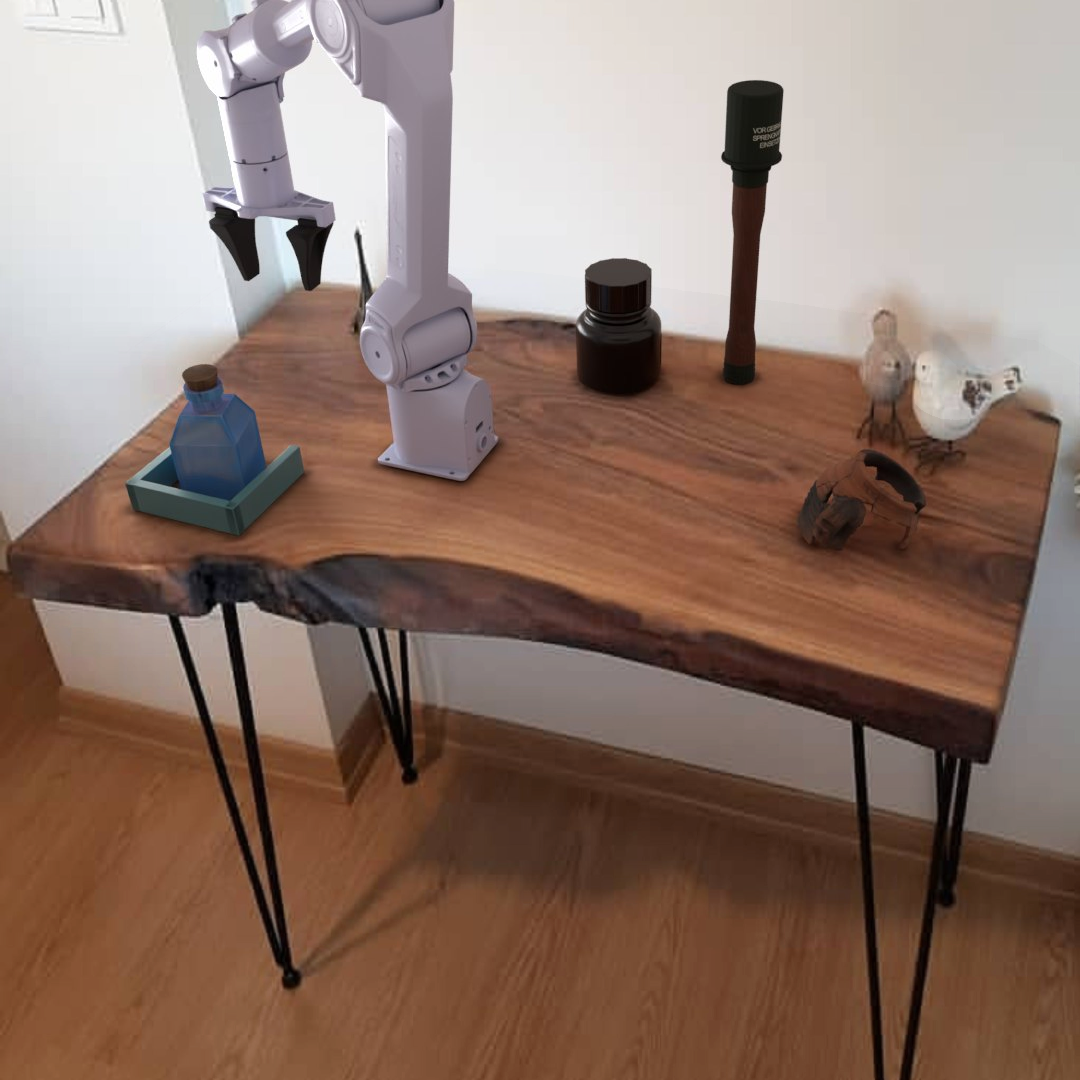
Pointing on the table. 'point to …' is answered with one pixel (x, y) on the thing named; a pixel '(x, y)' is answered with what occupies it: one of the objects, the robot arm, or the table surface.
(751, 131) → the grenade
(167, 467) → the bay
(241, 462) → the perfume bottle
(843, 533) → the brown curved piece
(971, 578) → the table surface
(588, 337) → the ink bottle
